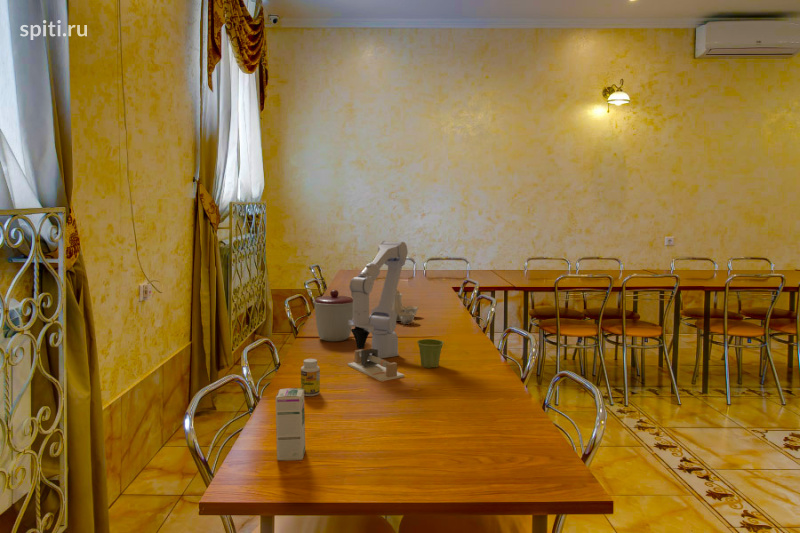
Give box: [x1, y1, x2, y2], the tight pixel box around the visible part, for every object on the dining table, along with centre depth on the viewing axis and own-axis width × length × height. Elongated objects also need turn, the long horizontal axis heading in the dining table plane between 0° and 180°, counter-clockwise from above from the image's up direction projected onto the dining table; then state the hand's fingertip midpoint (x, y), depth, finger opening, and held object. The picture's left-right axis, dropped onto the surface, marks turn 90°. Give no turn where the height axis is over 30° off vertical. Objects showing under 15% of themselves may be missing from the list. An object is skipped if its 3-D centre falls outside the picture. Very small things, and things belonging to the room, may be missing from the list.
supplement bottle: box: [300, 358, 321, 397], centre depth 167 cm, size 6×6×10 cm
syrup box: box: [275, 387, 306, 461], centre depth 125 cm, size 6×6×14 cm
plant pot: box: [417, 338, 445, 369], centre depth 199 cm, size 9×9×9 cm
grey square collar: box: [360, 348, 378, 366], centre depth 194 cm, size 2×5×5 cm, turn 124°
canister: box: [312, 289, 353, 342], centre depth 238 cm, size 18×18×21 cm
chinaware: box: [392, 289, 419, 325], centre depth 281 cm, size 28×17×17 cm, turn 179°
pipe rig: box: [347, 349, 405, 382], centre depth 192 cm, size 22×9×5 cm, turn 35°
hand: (360, 348), depth 199 cm, fingers closed
